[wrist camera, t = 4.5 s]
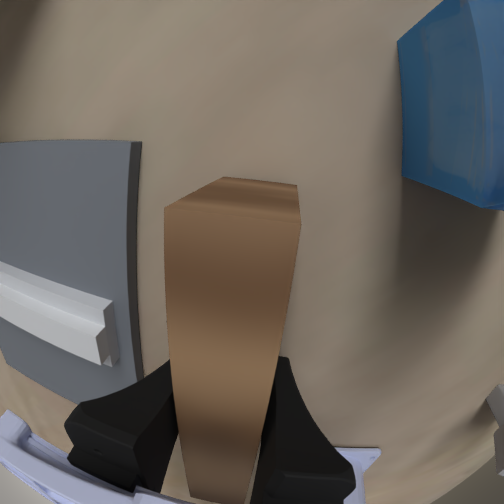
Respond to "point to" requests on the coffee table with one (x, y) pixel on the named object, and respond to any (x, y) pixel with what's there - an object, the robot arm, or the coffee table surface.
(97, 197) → the ridge stand
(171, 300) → the walnut bar
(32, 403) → the coffee table surface
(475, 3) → the perfume bottle
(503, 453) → the grey angular piece
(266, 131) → the coffee table surface
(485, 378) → the coffee table surface
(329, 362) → the coffee table surface
